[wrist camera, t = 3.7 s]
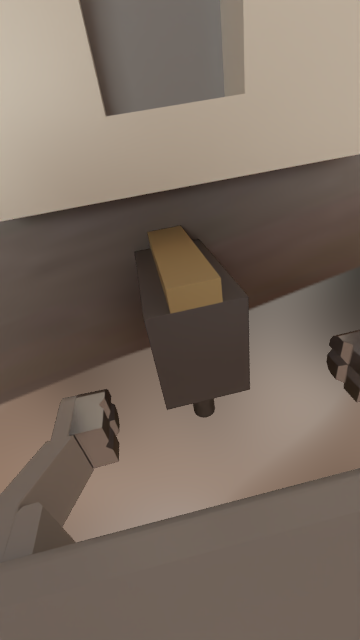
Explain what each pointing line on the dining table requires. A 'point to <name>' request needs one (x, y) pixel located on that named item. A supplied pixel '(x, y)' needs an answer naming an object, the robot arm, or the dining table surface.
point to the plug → (193, 321)
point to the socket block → (169, 94)
